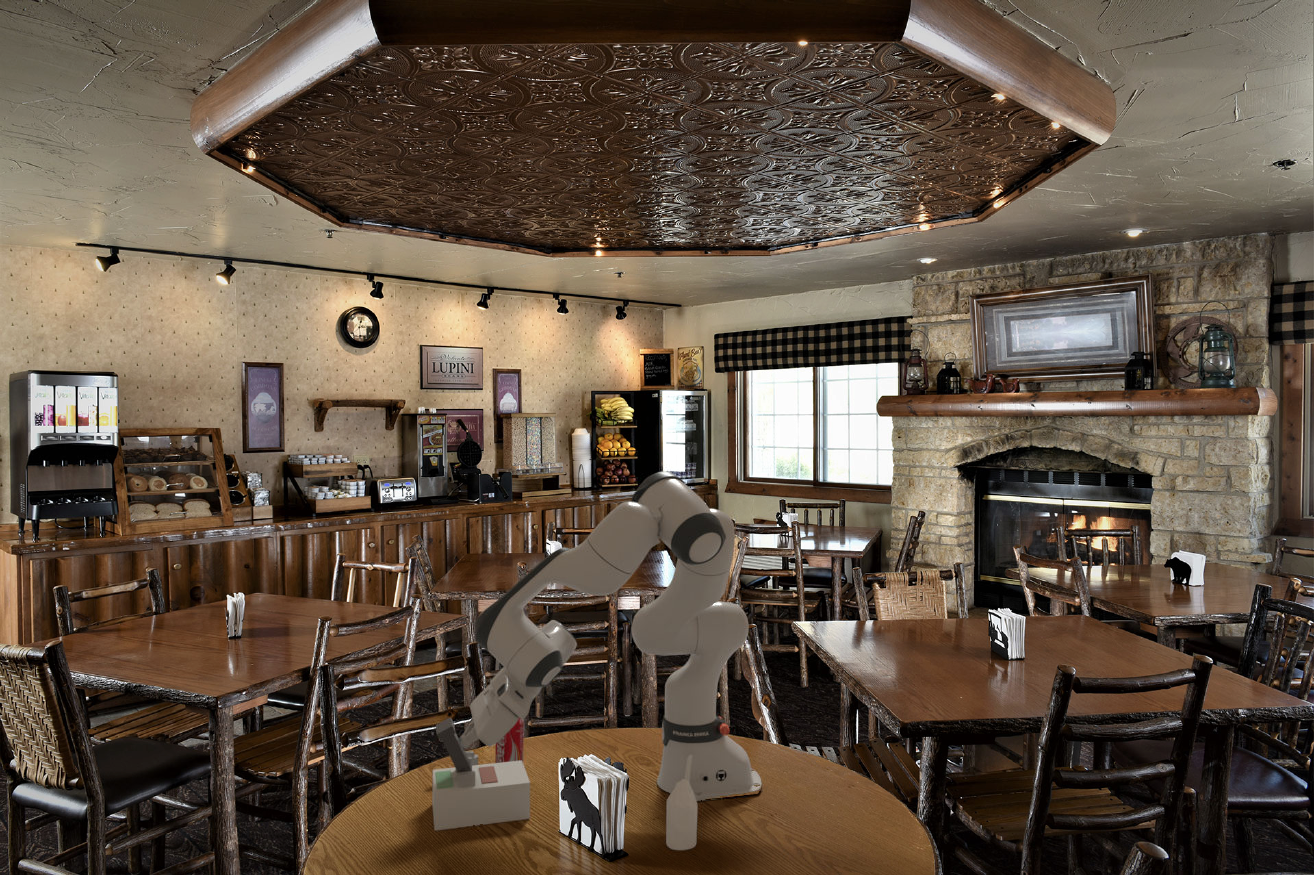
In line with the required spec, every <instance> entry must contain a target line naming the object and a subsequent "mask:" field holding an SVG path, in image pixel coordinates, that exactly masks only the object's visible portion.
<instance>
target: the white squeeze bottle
mask: <svg viewBox="0 0 1314 875" xmlns="http://www.w3.org/2000/svg"><path fill="white" fill-rule="evenodd" d="M698 809H699V808H698V801H696V798H695V795H694V792H693V790H692V788H691V786H690V782H689V781H688V780H685V779H682V780H681V781H679V782H678V783H677V784H676V786H675V788H674V790H673V791H672V793H669V796H668V797H667V799H666V815H665V816H666V820H665V821H666V823H665V824H666V825H665V827H666V830H665V833H666V834H665V836H666V837H665V844H666V846H667V848H669V849H670V850H673V851H686V850H687V851H688V850H691V849H694V848H695V847H696V845H697V839H698V838H697V833H698V832H697V830H698Z"/></svg>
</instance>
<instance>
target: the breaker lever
mask: <svg viewBox="0 0 1314 875" xmlns="http://www.w3.org/2000/svg"><path fill="white" fill-rule="evenodd" d="M435 730H436V731H435V732H436V736H437V738H438V739H439V742H442V743H443V745H444V747H445V750H446V751H447V753H448V755H449V757H450V759H451V761H452V763H453V765H454V767H455V768H456V770H457V772H467V771H472V769H471V764H470V761H469V759H468V757H467V755H466V753H465V749H464V748H463V747H462V746H461V745H460V740H459V738H460V737H458V734H457V733H456V728H455V723H454V721H453V719H452V717H451V716H450V717H448V718H446V719H444V720H443V721H440V722H439V723H437V724H435Z"/></svg>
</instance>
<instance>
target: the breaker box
mask: <svg viewBox="0 0 1314 875" xmlns="http://www.w3.org/2000/svg"><path fill="white" fill-rule="evenodd" d="M468 759H469V761H470V764H471V769H472V771H467V772H457V770H456V768H455V766H454V767H447V768H435V769H432V795H431V796H432V798H431V799H432V800H431V801H432V802H431V803H432V806H431V807H432V816H433V828H434V831H436V832H437V831H443V830H444V831H445V830H451V829H458V828H459V827H460V828H466V827H467V826H468V827H473V825H475V826H481V825H480V824H483V825H488V824H489V825H490V824H498V823H505V822H506V823H507V822H513V821H522V820H529V819H531V782H530V779H529V776H528V773H527V771H526V768H525V766H524V761H523V762H522V760H521V761H511V762H502V763H493V762H492V763H485V764H484V763H483V764H478V765H473V766H472V756H471V757H468Z"/></svg>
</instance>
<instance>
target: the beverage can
mask: <svg viewBox="0 0 1314 875" xmlns="http://www.w3.org/2000/svg"><path fill="white" fill-rule="evenodd" d="M524 726H525V722H524V719H520V718H519V717H518V721H517V723H516V724H515V725H514V726H513V727H512V728H511V729H510V730H509V731H508V733H507V734H506V735H505V736H504V737H502V738H501V739H500V740H499V741H498V742H497V743H496V744H495V745H494V746H495V749H494V750H495V757H494V758H495V761H494V762H495V763H502V762H511V761H521V760H522V762H523V763H524V734H525V732H524V731H525V730H524V729H525V728H524Z"/></svg>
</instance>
